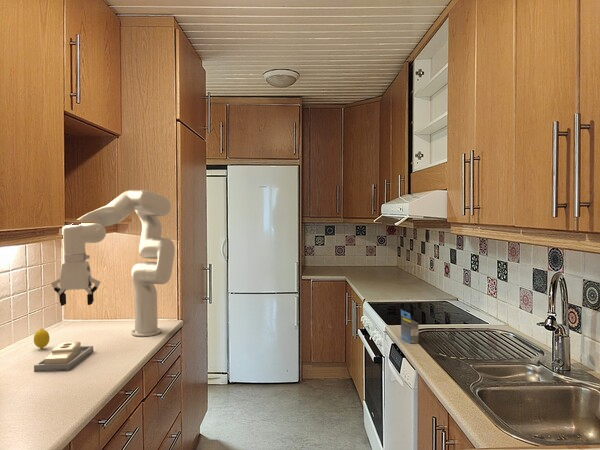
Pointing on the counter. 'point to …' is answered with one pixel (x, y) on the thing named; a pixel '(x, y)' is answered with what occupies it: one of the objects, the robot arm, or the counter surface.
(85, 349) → the grey rectangular tray
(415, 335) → the label tape cartridge
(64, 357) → the electrical outlet
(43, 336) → the lemon
